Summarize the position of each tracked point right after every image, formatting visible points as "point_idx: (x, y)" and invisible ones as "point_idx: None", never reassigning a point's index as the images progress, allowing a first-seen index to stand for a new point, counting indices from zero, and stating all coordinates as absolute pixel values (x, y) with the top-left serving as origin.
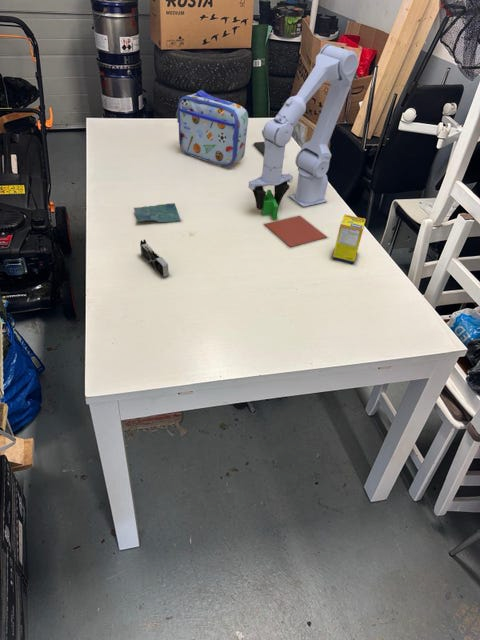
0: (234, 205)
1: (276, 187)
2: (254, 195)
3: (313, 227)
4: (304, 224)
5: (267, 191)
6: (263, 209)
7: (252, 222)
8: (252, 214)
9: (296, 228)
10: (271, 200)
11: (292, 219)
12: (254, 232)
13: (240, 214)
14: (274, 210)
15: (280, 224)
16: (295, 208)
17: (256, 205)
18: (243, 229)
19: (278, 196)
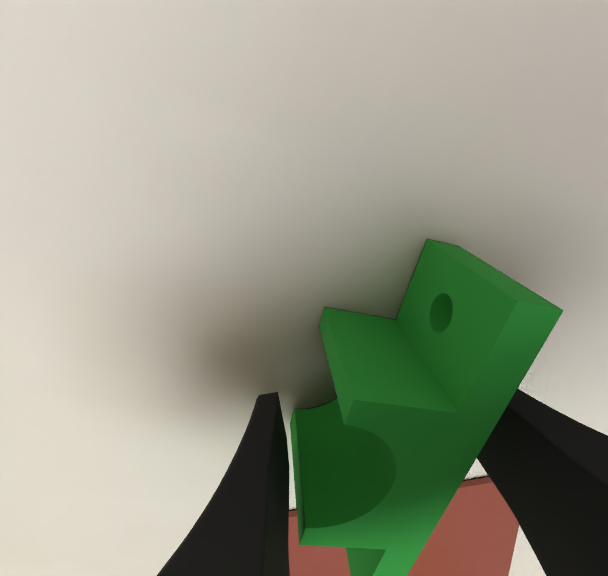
0: (71, 213)
1: (602, 533)
2: (208, 510)
3: (502, 572)
4: (480, 549)
5: (495, 318)
6: (293, 464)
7: (173, 486)
8: (211, 398)
9: (410, 571)
10: (390, 527)
11: (452, 504)
12: (151, 568)
13: (103, 382)
14: (348, 561)
15: None
16: (587, 377)
17: (253, 413)
18: (84, 541)
19: (514, 485)
